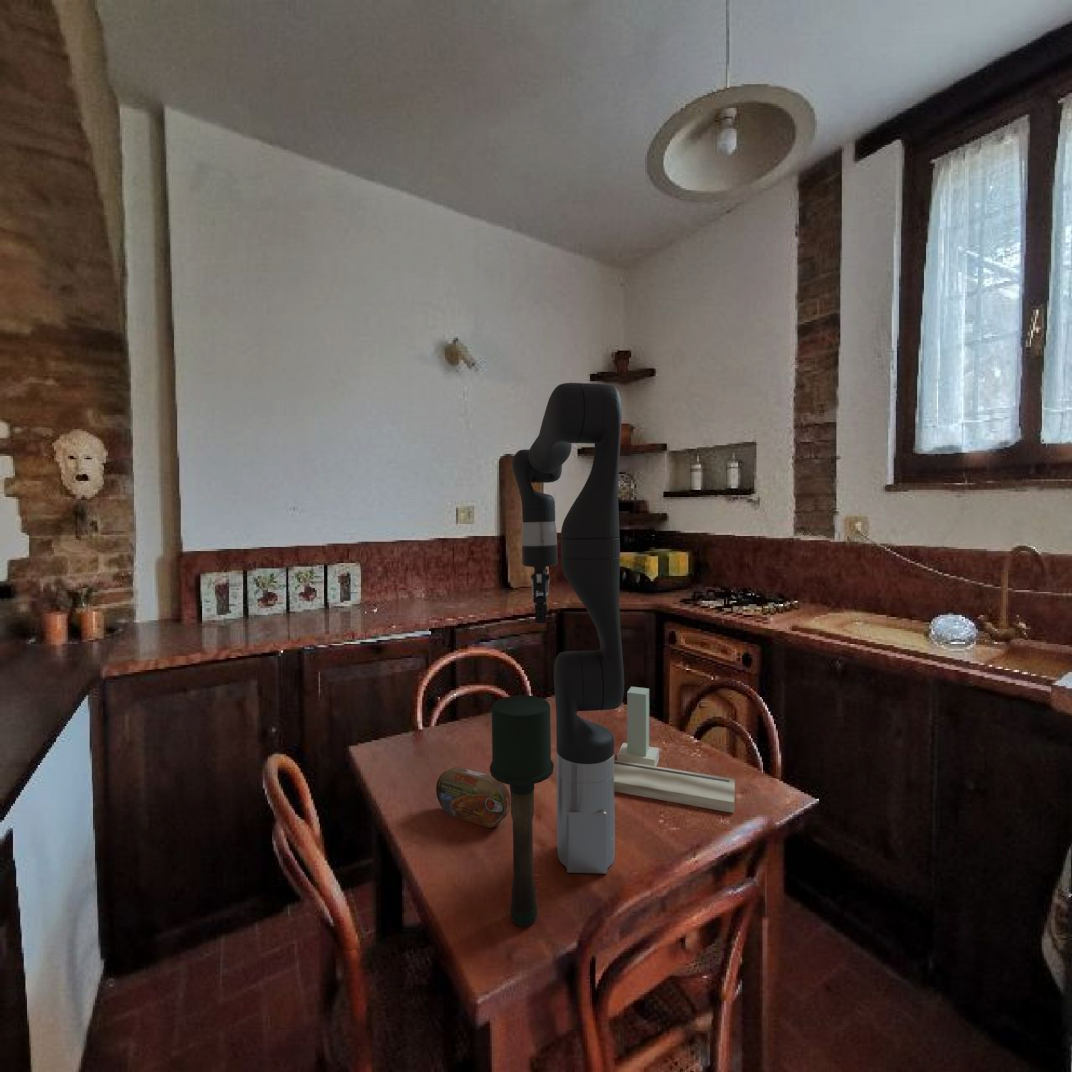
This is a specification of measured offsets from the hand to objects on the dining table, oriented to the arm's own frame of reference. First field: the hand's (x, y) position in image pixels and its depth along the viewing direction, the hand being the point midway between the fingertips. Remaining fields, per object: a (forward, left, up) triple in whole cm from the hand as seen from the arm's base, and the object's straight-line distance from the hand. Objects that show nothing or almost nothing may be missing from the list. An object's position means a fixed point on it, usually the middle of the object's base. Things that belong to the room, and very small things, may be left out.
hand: (541, 619), depth 117 cm
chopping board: (-9, -24, -32) cm, 41 cm away
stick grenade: (-44, +1, -32) cm, 55 cm away
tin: (-20, +12, -32) cm, 40 cm away
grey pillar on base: (+2, -21, -32) cm, 38 cm away
